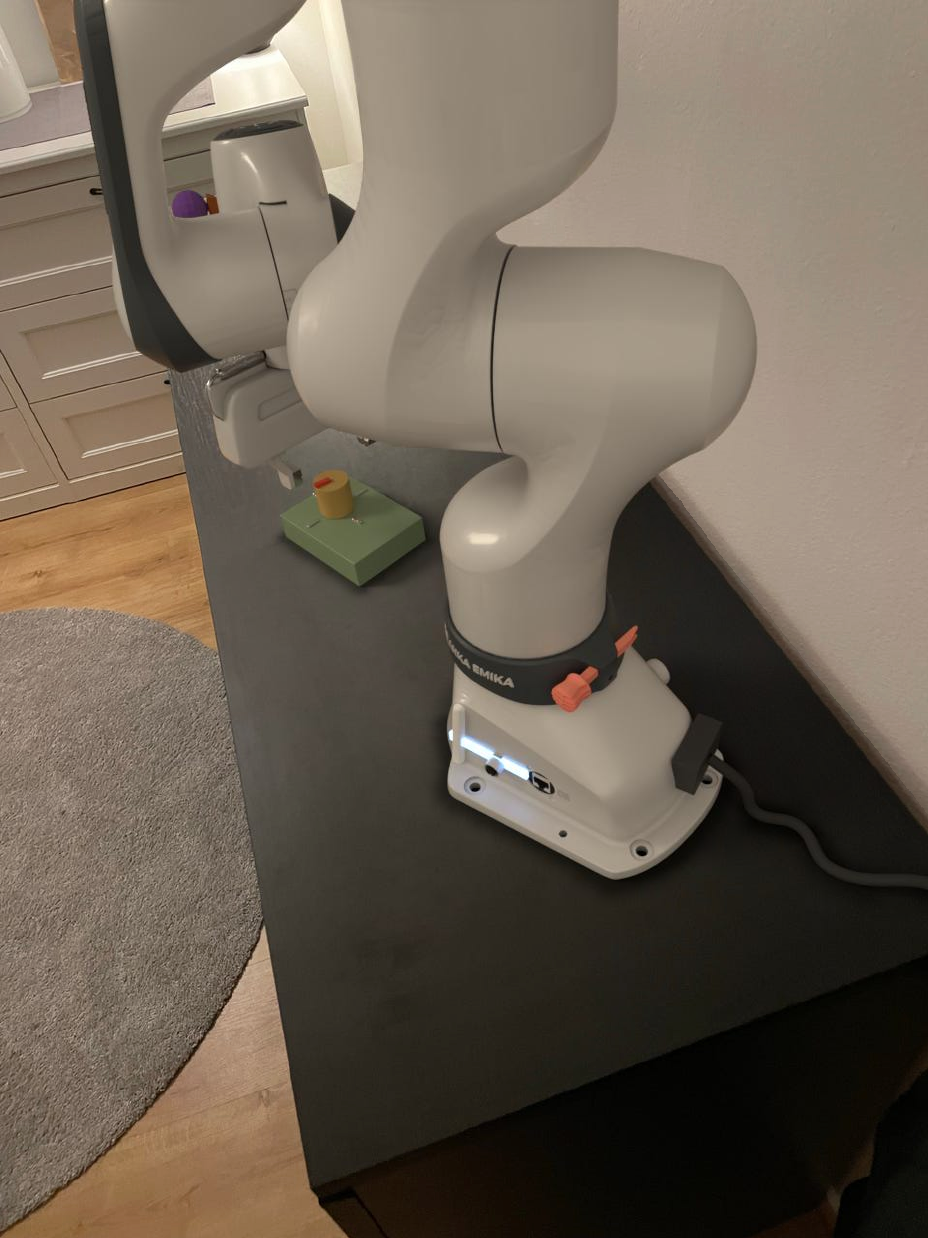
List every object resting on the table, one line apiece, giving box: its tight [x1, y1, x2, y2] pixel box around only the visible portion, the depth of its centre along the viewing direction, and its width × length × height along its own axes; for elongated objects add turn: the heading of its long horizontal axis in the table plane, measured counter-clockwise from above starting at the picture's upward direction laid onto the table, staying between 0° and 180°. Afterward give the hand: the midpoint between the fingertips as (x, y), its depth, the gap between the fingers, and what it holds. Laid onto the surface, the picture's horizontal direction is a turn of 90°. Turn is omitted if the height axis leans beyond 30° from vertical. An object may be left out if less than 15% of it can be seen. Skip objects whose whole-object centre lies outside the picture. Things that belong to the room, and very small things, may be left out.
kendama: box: [171, 189, 219, 218], centre depth 156 cm, size 6×6×20 cm
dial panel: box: [279, 473, 427, 587], centre depth 91 cm, size 12×9×3 cm
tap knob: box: [312, 469, 355, 519], centre depth 89 cm, size 4×4×4 cm
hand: (331, 462), depth 86 cm, fingers open, 8 cm apart
